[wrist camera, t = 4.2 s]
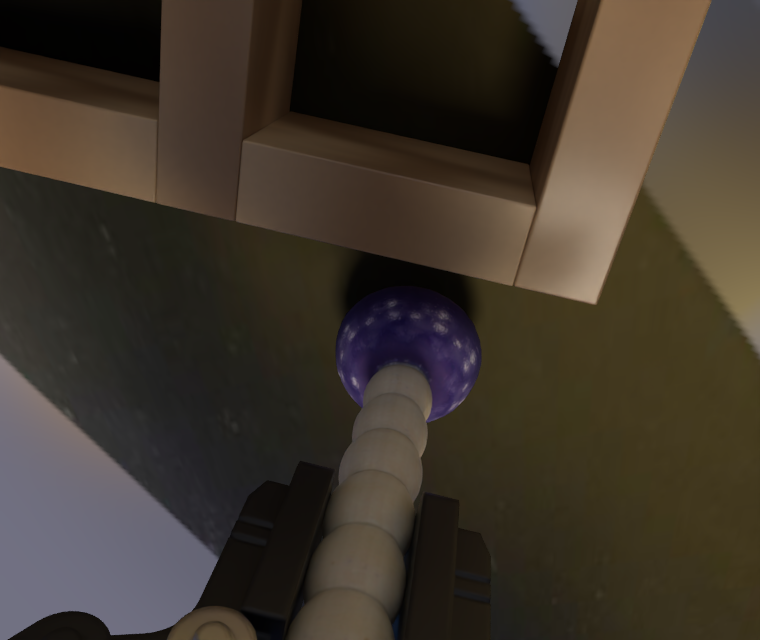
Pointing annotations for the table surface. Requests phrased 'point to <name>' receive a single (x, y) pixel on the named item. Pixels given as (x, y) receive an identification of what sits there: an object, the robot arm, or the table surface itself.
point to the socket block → (363, 143)
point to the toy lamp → (383, 455)
